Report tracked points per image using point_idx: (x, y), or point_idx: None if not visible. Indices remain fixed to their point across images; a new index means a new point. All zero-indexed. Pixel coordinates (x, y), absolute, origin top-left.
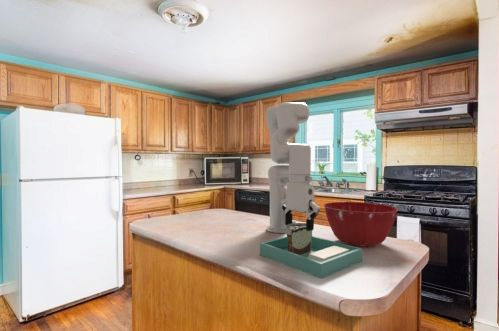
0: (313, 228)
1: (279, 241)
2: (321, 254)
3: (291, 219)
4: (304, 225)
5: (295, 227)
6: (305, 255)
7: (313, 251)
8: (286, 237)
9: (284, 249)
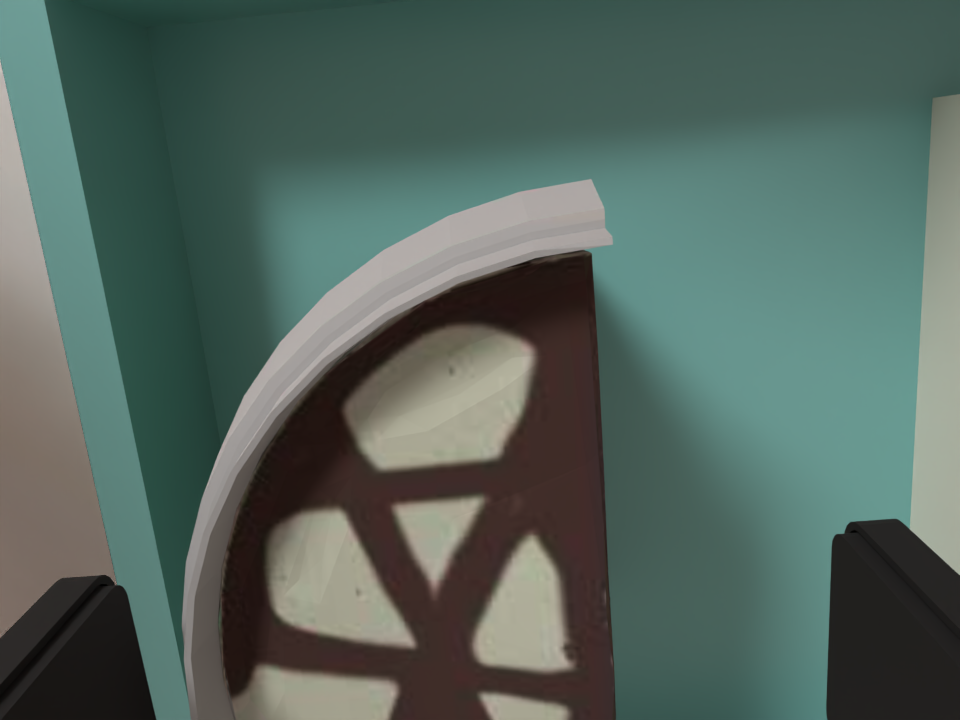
0: (905, 527)
1: None
2: None
3: (61, 701)
4: (375, 343)
5: (406, 682)
6: (613, 403)
7: (559, 169)
8: (132, 454)
9: None
